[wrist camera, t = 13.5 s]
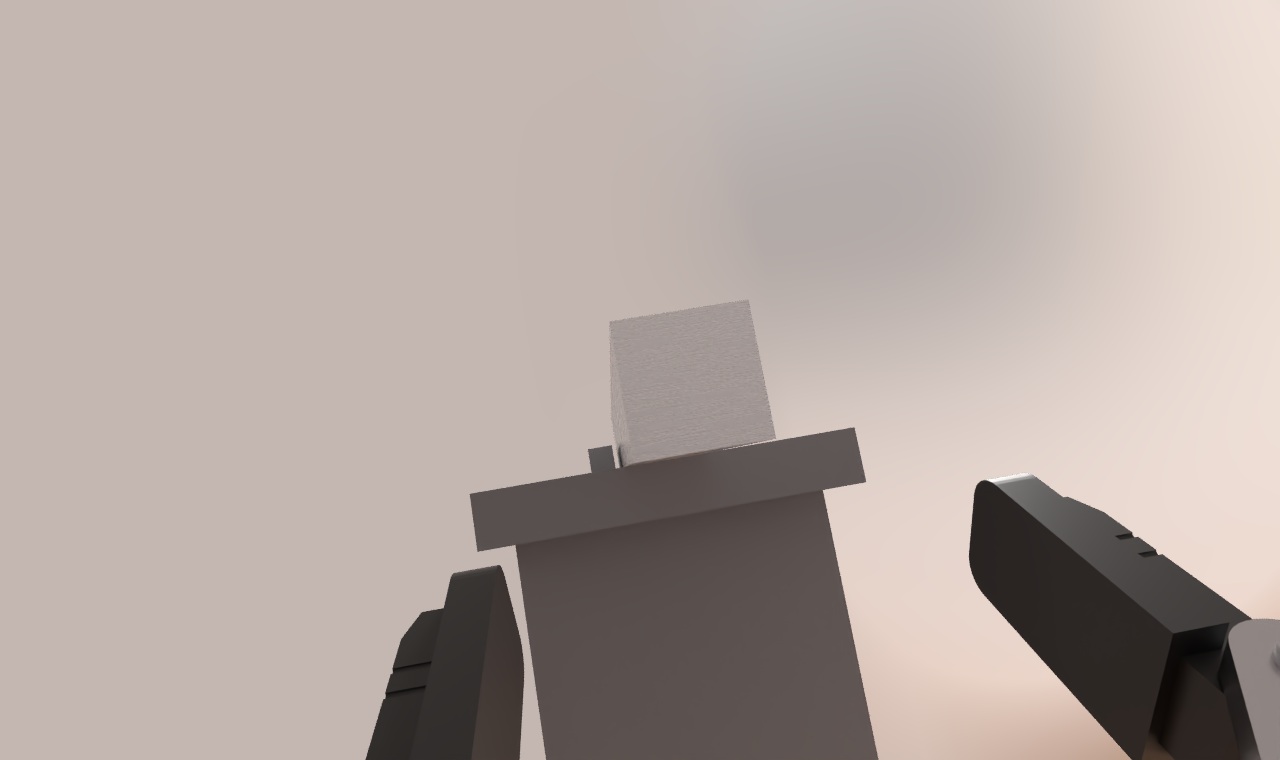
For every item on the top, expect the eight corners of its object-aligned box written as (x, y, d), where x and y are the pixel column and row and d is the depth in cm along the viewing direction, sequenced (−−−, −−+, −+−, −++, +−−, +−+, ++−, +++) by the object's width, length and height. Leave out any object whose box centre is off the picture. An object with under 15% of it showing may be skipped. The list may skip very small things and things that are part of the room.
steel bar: (775, 438, 14) (748, 299, 14) (633, 463, 13) (609, 321, 14) (670, 460, 38) (661, 410, 39) (619, 469, 38) (611, 418, 38)
